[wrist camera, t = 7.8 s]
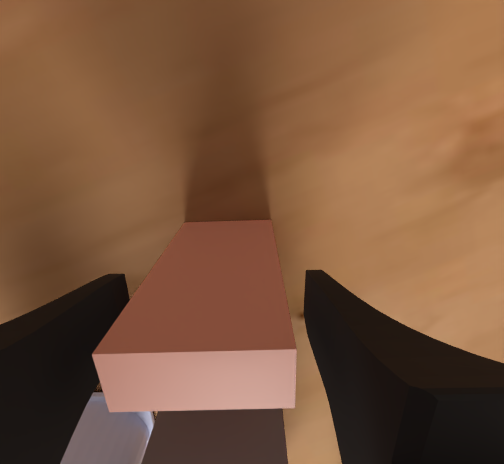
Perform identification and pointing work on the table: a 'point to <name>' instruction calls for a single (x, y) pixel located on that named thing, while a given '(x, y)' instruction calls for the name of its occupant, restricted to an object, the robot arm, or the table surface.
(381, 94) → the table surface
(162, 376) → the red domino
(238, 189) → the table surface
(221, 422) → the domino
